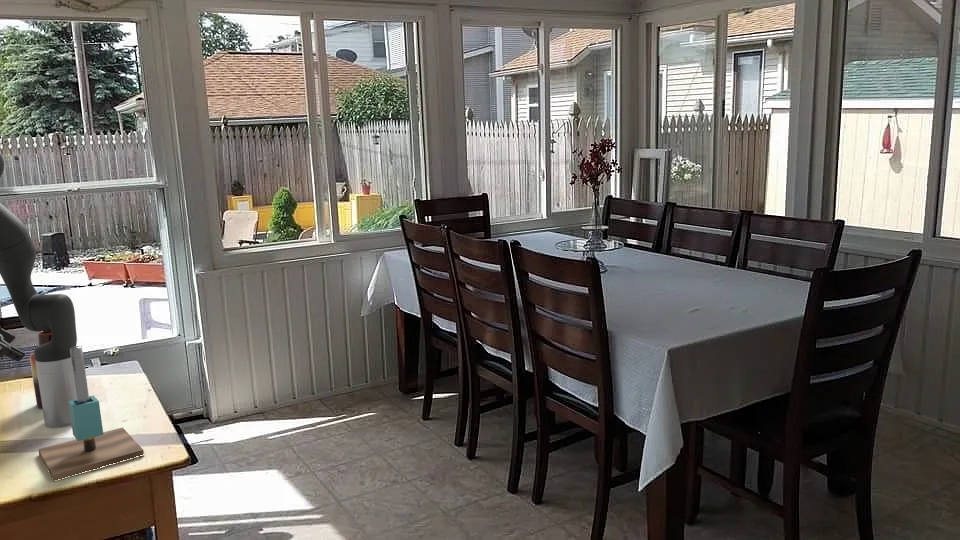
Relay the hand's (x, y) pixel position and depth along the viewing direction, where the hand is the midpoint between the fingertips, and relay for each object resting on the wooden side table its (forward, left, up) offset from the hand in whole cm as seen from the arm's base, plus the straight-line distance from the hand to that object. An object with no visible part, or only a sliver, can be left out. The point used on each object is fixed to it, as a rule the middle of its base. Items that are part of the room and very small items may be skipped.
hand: (16, 348), depth 161 cm
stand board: (+4, +11, -26) cm, 29 cm away
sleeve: (+4, +11, -21) cm, 24 cm away
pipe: (+4, +11, -25) cm, 27 cm away
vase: (-41, +3, -26) cm, 49 cm away
